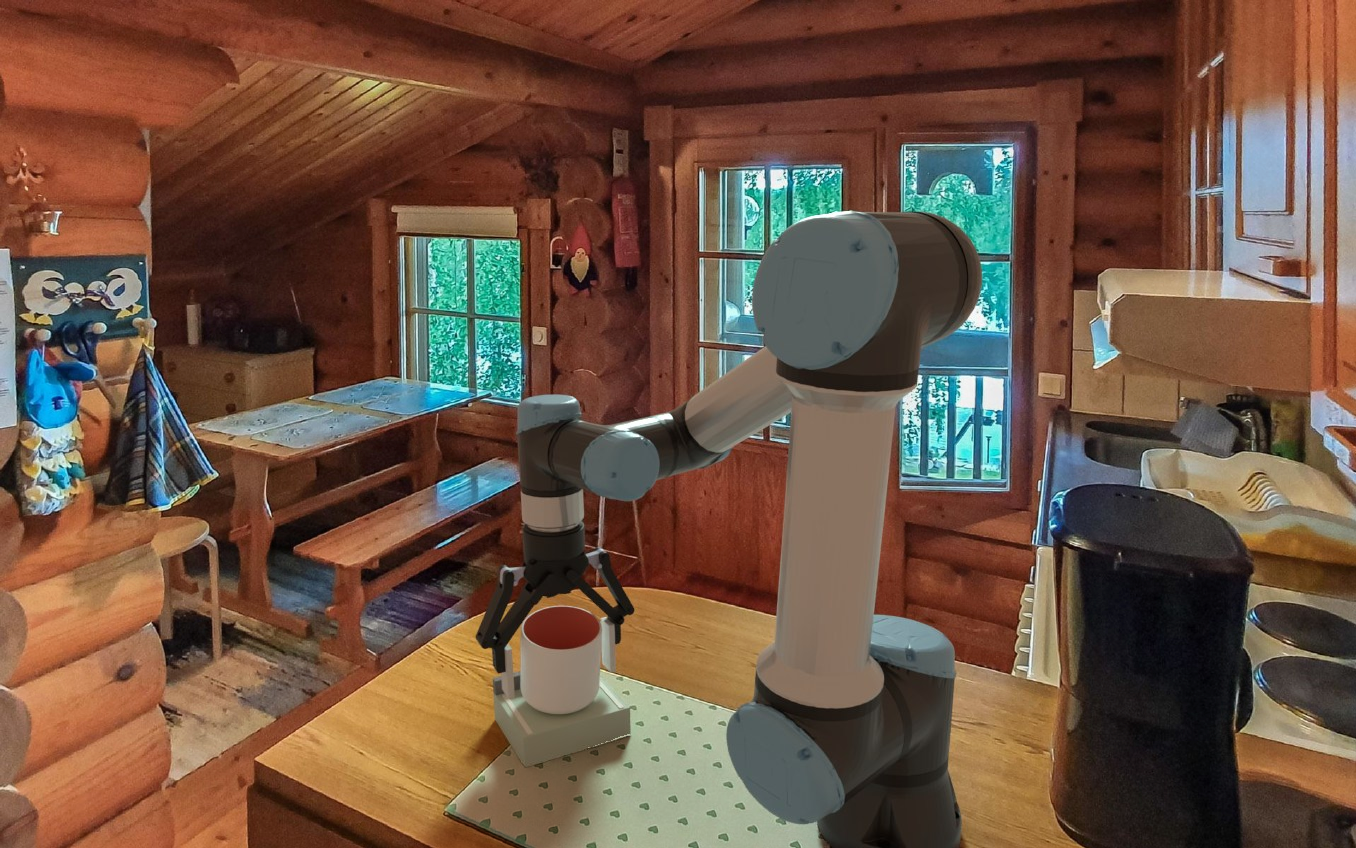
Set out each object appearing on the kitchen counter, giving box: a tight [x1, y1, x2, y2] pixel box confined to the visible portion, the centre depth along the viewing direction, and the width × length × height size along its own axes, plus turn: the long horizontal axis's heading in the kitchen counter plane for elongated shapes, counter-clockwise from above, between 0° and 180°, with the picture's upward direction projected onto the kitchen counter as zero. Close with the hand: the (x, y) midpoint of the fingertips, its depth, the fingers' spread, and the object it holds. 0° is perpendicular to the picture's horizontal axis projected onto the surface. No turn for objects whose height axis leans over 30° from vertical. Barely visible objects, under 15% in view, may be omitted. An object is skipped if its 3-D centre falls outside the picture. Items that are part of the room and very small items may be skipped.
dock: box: [492, 670, 632, 768], centre depth 116 cm, size 12×14×6 cm
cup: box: [520, 605, 602, 714], centre depth 114 cm, size 10×10×10 cm
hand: (559, 680), depth 116 cm, fingers open, 13 cm apart
